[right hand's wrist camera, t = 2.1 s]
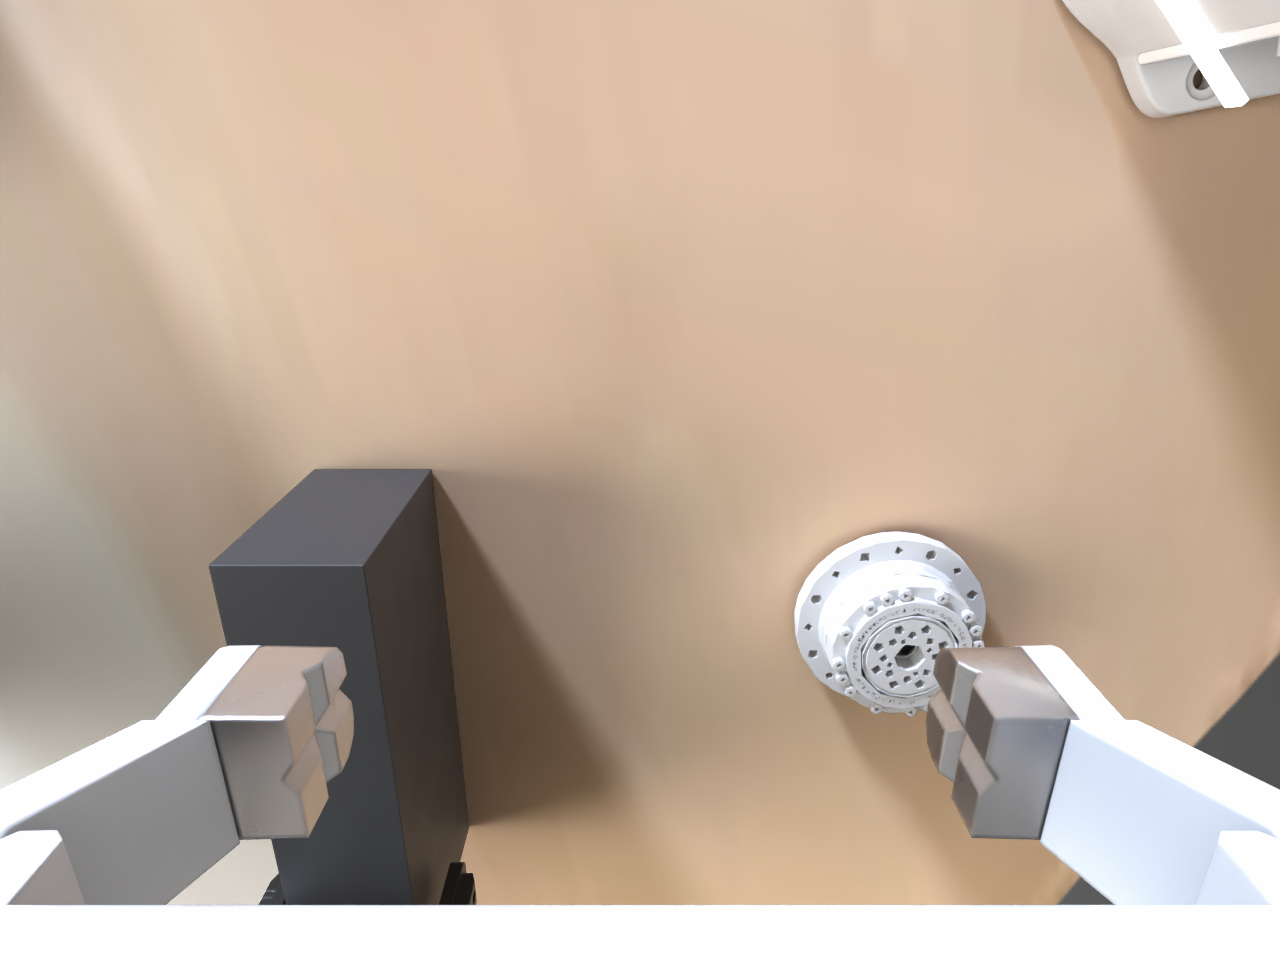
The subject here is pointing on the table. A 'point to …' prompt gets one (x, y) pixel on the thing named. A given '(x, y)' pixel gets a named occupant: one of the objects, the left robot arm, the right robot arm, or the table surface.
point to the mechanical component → (887, 618)
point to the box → (363, 677)
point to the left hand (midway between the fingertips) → (381, 873)
